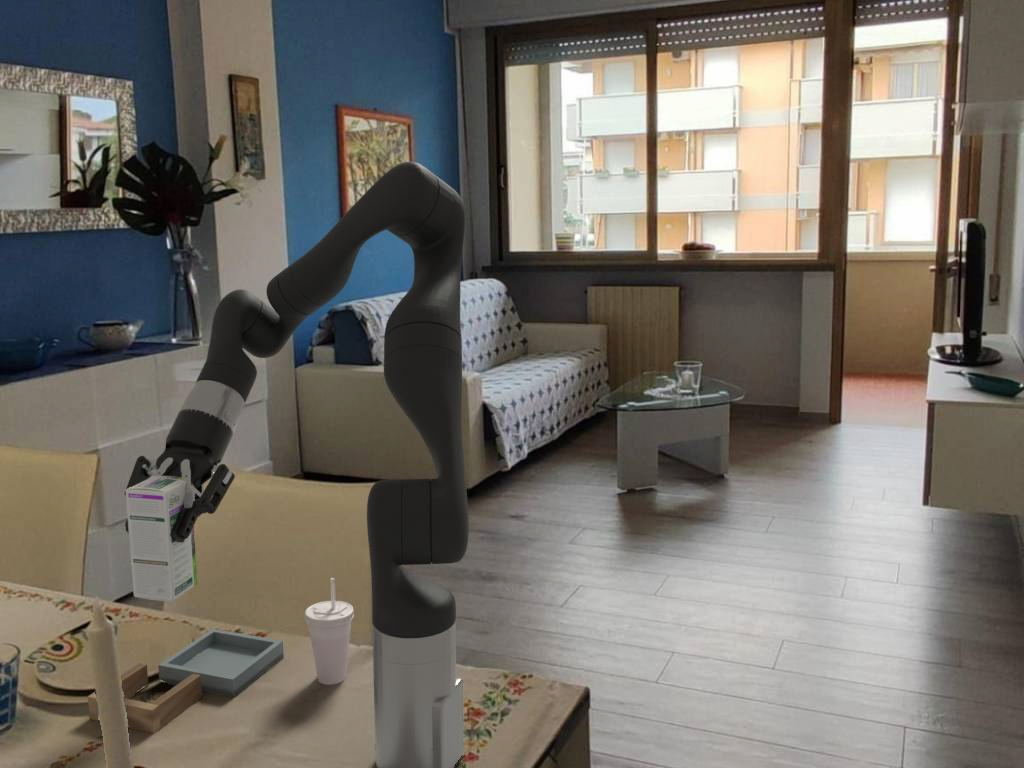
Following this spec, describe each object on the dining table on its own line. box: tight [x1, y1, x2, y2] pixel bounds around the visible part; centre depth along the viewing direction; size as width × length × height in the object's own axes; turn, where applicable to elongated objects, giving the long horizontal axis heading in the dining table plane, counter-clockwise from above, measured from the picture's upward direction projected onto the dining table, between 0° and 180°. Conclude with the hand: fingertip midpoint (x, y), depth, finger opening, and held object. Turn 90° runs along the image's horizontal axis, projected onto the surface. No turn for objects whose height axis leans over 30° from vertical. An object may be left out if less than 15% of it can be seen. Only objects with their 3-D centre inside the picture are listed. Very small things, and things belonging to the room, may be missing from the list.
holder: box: [87, 662, 203, 734], centre depth 122 cm, size 10×9×3 cm
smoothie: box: [304, 577, 355, 686], centre depth 128 cm, size 6×6×14 cm
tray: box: [157, 628, 285, 698], centre depth 131 cm, size 12×12×2 cm
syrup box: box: [125, 476, 198, 603], centre depth 122 cm, size 6×6×14 cm
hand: (153, 536), depth 120 cm, fingers closed on syrup box, 6 cm apart
